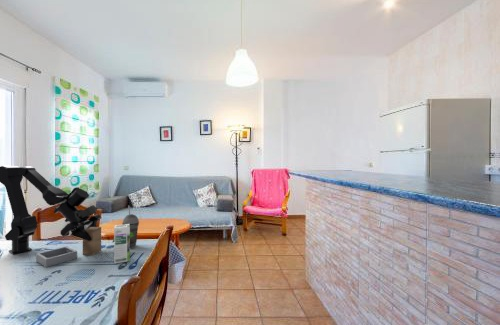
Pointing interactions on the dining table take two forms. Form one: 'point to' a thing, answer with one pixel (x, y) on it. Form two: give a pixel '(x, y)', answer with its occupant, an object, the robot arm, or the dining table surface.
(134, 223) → the beverage cup
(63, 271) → the dining table surface
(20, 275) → the dining table surface
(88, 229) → the handle block
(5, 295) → the dining table surface
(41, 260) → the bin
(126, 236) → the syrup box
